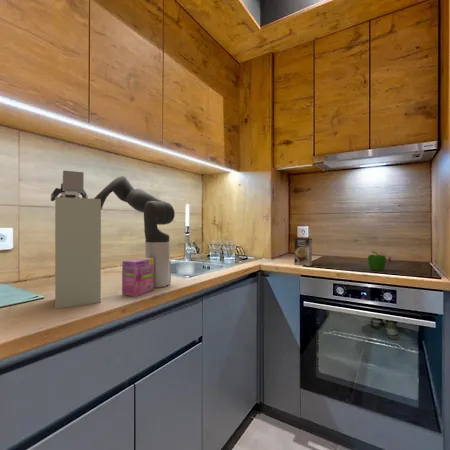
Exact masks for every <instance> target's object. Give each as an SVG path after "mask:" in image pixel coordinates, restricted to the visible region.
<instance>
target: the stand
mask: <svg viewBox="0 0 450 450" xmlns="http://www.w3.org/2000/svg"><path fill="white" fill-rule="evenodd" d="M54 201H55V202H54V204H55V205H54V211H55V212H54V218H55V219H54V229H55V231H54V233H55V234H54V242H55V243H54V251H55V252H54V254H55V255H54V259H55V262H54V264H55V265H54V267H55V268H54V269H55V270H54V271H55V272H54V274H55V275H54V280H55V281H54V285H55V286H54V287H55V288H54V289H55V290H54V297H55V298H54V304H55V306H54V307H55V309H60V308H69V307H76V306H84V305H85V306H86V305H90V304H91V305H92V304H99V303H101V302H102V301H101V300H102V299H101V296H102V289H101V288H102V280H101V279H102V278H101V276H102V275H101V274H102V273H101V271H102V270H101V268H102V255H101V254H102V251H101V250H102V248H101V246H102V234H101V233H102V231H101V230H102V229H101V228H102V225H101V224H102V219H101V218H102V209H101V199H94V198H89V197H88V198H82V197H80V198H67V197H60V196H57V197H55V200H54Z"/></svg>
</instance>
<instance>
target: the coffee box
mask: <svg viewBox="0 0 450 450" xmlns="http://www.w3.org/2000/svg"><path fill="white" fill-rule="evenodd" d="M293 265H296V266H304V265H305V266H304V267H307V266H308V267H309V266H312V265H313V238H310V237H308V238H307V237H294V263H293Z"/></svg>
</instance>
